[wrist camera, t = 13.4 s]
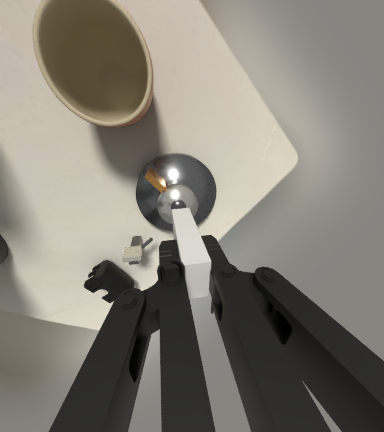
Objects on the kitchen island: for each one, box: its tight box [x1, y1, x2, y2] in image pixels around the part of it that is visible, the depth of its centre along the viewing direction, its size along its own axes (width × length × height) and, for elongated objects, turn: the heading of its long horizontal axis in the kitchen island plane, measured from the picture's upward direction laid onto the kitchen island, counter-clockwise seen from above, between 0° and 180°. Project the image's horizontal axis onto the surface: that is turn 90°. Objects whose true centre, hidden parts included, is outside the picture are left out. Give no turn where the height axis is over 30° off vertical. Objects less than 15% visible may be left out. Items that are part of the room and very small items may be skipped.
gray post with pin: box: [122, 236, 153, 265], centre depth 39 cm, size 6×5×9 cm
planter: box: [33, 0, 153, 127], centre depth 23 cm, size 12×12×11 cm
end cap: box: [84, 260, 134, 303], centre depth 44 cm, size 10×7×7 cm
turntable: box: [136, 153, 216, 231], centre depth 36 cm, size 18×18×7 cm
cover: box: [157, 180, 198, 224], centre depth 34 cm, size 8×8×5 cm
